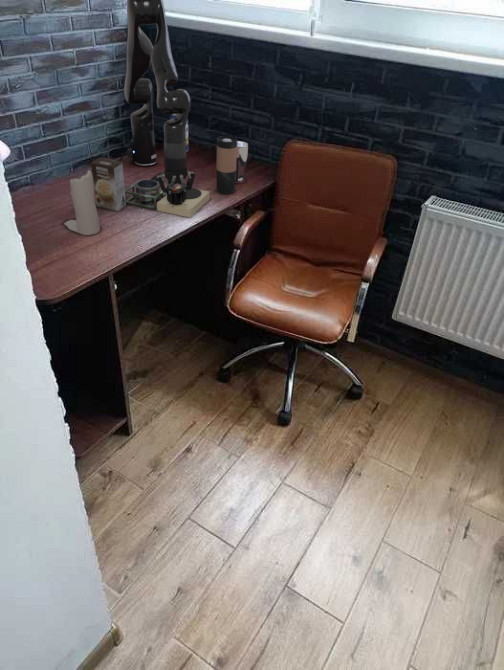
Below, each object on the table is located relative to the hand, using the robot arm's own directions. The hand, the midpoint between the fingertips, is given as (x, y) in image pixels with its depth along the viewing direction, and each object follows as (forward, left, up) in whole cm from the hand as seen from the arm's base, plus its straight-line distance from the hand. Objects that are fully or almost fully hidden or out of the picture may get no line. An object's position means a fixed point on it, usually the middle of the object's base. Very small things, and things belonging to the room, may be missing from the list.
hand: (176, 201), depth 178 cm
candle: (-23, -26, -4) cm, 35 cm away
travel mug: (+9, +25, -4) cm, 27 cm away
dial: (0, 0, 0) cm, 0 cm away
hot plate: (0, +6, -3) cm, 7 cm away
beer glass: (+10, +37, -4) cm, 39 cm away
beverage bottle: (-27, +59, -4) cm, 65 cm away
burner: (0, +9, 0) cm, 9 cm away
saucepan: (-13, +7, -3) cm, 16 cm away
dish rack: (-13, +3, -3) cm, 14 cm away
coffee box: (-23, -7, -4) cm, 24 cm away
